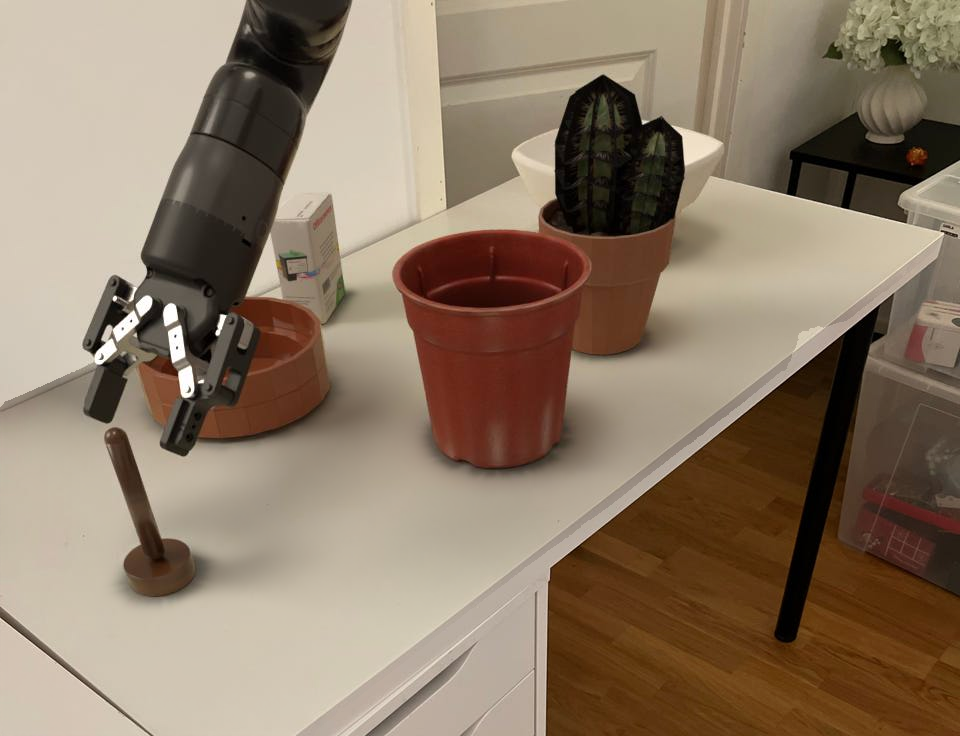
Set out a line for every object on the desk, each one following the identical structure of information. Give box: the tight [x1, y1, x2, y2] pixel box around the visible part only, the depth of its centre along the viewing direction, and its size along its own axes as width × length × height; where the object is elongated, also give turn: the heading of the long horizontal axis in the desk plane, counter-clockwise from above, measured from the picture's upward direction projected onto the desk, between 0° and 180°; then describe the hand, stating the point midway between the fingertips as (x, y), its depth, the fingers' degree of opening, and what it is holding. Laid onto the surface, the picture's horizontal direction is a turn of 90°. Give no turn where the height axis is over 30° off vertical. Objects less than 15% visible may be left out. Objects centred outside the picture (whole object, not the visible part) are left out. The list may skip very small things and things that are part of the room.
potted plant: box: [537, 73, 685, 356], centre depth 97 cm, size 14×14×25 cm
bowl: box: [511, 119, 725, 223], centre depth 120 cm, size 22×22×12 cm
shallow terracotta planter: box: [135, 296, 331, 439], centre depth 97 cm, size 18×18×6 cm
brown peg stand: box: [103, 426, 196, 597], centre depth 73 cm, size 5×5×13 cm
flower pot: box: [391, 228, 591, 469], centre depth 86 cm, size 16×16×16 cm
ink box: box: [269, 192, 346, 324], centre depth 110 cm, size 8×5×12 cm, turn 170°
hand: (133, 435), depth 70 cm, fingers open, 8 cm apart
